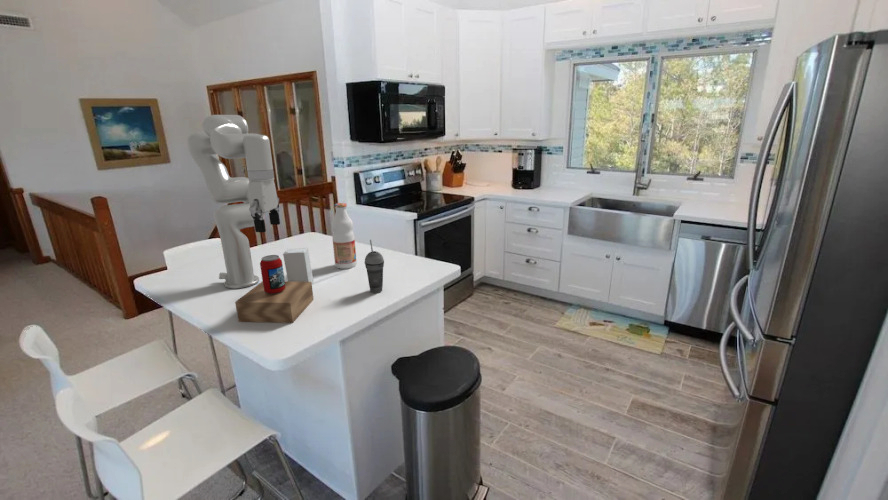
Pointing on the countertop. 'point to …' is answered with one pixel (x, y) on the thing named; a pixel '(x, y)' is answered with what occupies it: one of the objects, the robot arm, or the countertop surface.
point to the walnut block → (275, 303)
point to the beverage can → (272, 274)
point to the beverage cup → (374, 270)
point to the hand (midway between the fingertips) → (268, 228)
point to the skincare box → (298, 265)
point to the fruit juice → (343, 238)
